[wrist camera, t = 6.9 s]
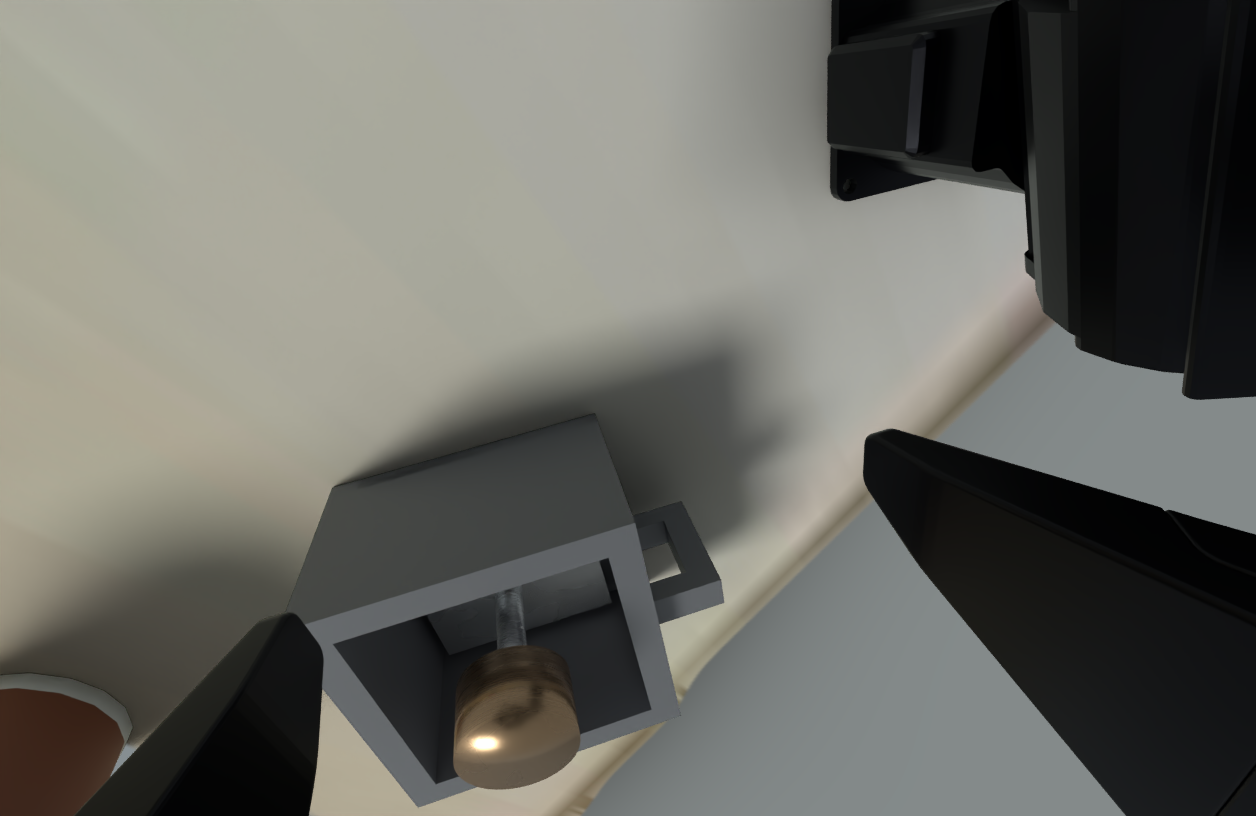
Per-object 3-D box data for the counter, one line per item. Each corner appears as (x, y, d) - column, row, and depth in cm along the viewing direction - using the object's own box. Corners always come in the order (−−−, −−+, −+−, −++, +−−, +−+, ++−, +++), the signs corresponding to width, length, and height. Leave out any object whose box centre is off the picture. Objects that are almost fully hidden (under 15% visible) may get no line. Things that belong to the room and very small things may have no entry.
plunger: (571, 466, 21) (614, 634, 14) (609, 592, 25) (656, 772, 18) (382, 522, 20) (335, 726, 14) (449, 643, 24) (438, 850, 17)
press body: (656, 396, 22) (717, 497, 16) (687, 571, 27) (742, 694, 21) (332, 487, 20) (277, 632, 15) (431, 653, 25) (417, 807, 20)
